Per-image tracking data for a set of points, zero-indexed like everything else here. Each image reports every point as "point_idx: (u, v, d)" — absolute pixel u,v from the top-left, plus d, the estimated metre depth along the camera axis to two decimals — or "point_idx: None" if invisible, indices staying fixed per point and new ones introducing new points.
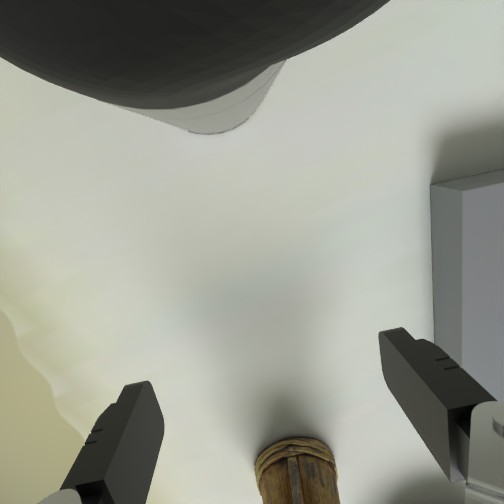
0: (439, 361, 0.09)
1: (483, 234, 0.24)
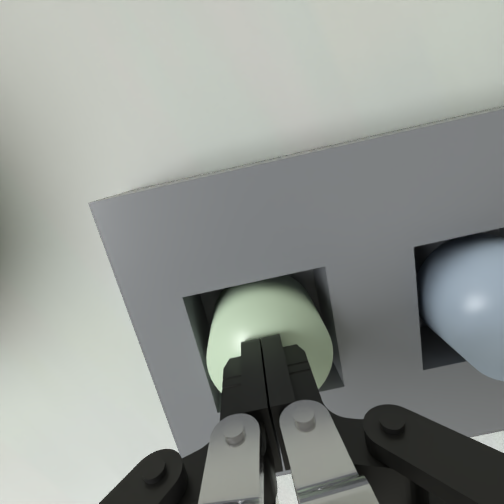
0: (297, 364, 0.10)
1: None
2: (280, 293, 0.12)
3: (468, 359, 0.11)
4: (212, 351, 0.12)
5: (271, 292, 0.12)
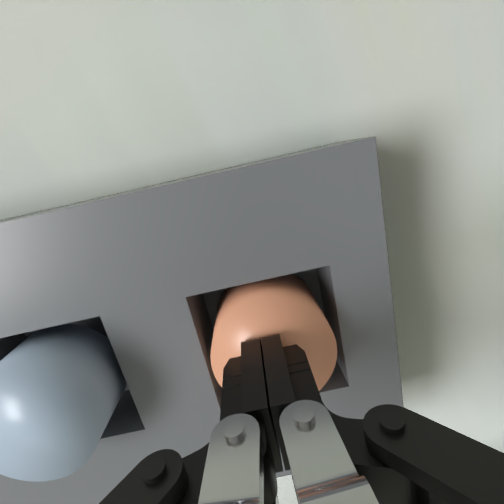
0: (297, 365, 0.10)
1: (281, 205, 0.11)
2: None
3: None
4: None
5: None
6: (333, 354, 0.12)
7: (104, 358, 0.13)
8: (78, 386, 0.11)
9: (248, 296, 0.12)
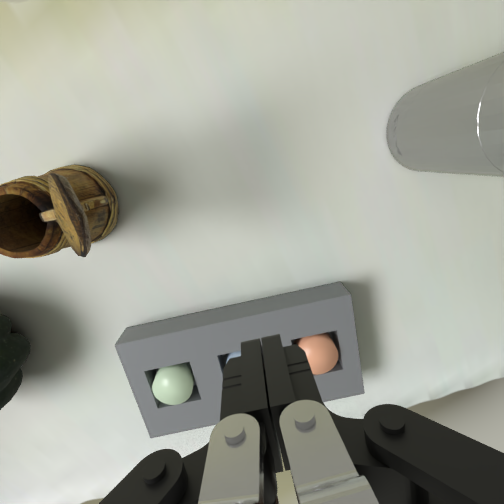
0: (297, 365, 0.10)
1: (322, 313, 0.37)
2: (175, 368, 0.39)
3: None
4: (154, 386, 0.38)
5: (172, 367, 0.39)
6: (337, 356, 0.38)
7: None
8: None
9: (310, 338, 0.38)
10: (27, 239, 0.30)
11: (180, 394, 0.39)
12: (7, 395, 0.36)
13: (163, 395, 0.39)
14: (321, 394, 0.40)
